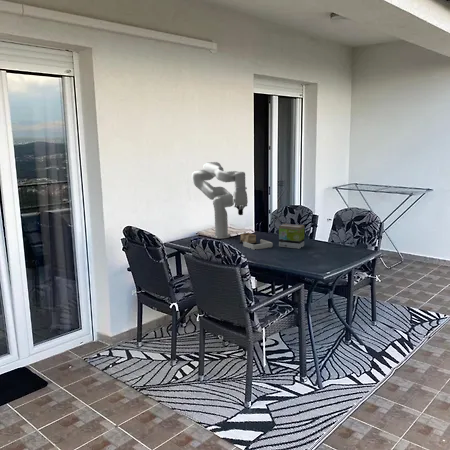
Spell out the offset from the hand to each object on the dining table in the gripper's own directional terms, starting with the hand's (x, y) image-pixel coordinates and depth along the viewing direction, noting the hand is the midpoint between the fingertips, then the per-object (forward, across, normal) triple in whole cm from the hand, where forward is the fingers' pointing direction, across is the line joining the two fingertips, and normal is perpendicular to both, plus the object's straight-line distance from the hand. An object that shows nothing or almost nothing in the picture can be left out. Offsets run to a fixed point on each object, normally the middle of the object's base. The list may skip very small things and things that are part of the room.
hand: (240, 214), depth 335 cm
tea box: (+19, -19, +35) cm, 44 cm away
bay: (+19, 0, +22) cm, 29 cm away
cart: (+19, 0, +10) cm, 21 cm away
